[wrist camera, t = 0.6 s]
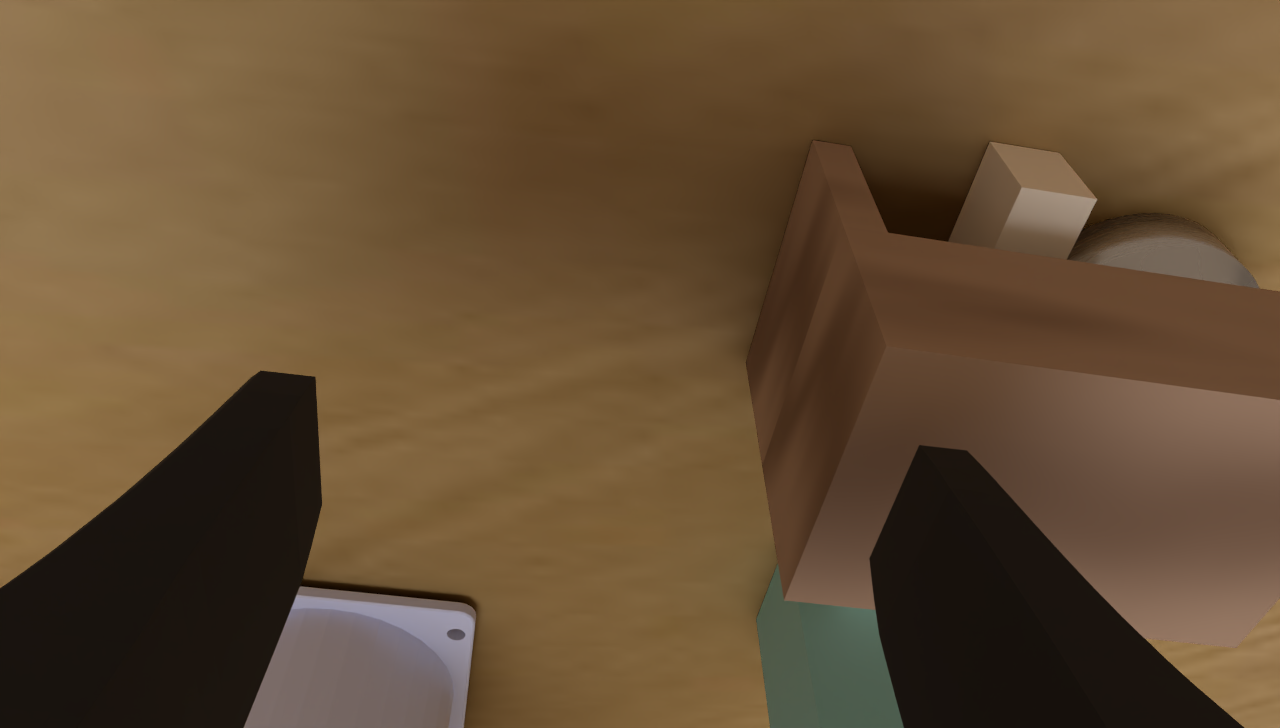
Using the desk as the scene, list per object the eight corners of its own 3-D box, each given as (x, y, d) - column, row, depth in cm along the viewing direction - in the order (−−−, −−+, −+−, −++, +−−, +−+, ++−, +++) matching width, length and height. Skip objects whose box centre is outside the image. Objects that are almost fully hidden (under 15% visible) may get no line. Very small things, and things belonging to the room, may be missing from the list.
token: (1158, 401, 24) (1188, 444, 23) (968, 374, 24) (987, 418, 22) (1271, 226, 21) (1312, 265, 20) (1056, 191, 21) (1084, 229, 19)
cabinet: (1101, 410, 24) (1245, 648, 18) (746, 363, 23) (783, 600, 17) (1224, 205, 21) (1446, 422, 15) (812, 139, 20) (886, 345, 14)
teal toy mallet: (869, 631, 29) (917, 828, 24) (756, 619, 29) (782, 818, 24) (1105, 160, 20) (1256, 329, 15) (942, 133, 20) (1044, 299, 15)
